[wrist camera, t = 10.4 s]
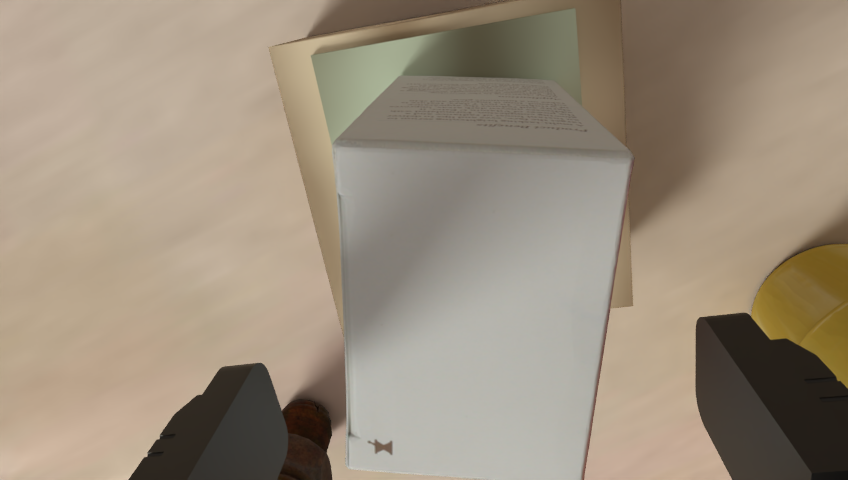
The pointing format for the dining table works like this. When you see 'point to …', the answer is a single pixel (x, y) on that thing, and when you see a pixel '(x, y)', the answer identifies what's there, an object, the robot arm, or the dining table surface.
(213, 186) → the dining table surface
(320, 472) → the bolt
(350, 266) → the small box
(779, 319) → the plant pot
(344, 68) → the base block
